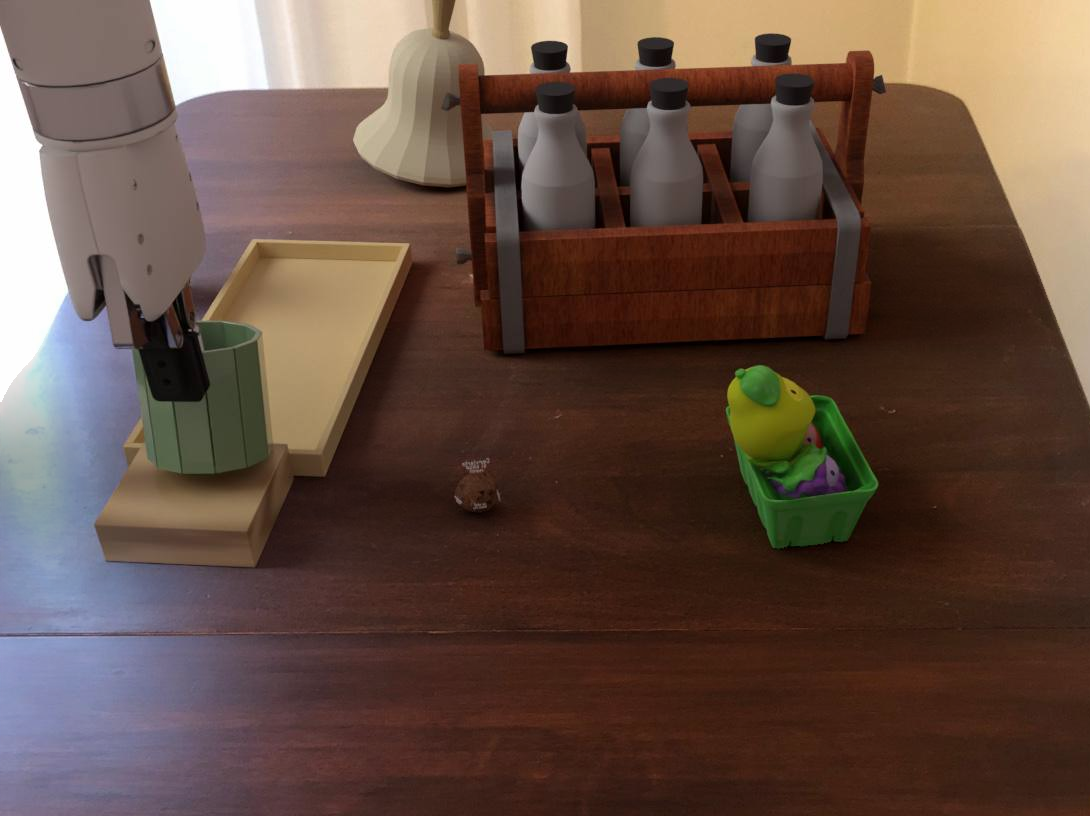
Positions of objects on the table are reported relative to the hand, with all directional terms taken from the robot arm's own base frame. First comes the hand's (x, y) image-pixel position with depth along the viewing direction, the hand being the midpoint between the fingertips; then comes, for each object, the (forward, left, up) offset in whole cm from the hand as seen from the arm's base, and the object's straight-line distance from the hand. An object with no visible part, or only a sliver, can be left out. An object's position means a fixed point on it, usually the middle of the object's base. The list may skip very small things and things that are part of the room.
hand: (182, 394), depth 84 cm
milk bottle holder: (+7, +45, -11) cm, 47 cm away
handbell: (-27, +55, -11) cm, 63 cm away
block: (-1, 0, -11) cm, 11 cm away
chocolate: (+14, +11, -11) cm, 21 cm away
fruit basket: (+31, +23, -11) cm, 40 cm away
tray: (-12, +19, -11) cm, 25 cm away
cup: (-2, +3, -7) cm, 8 cm away
